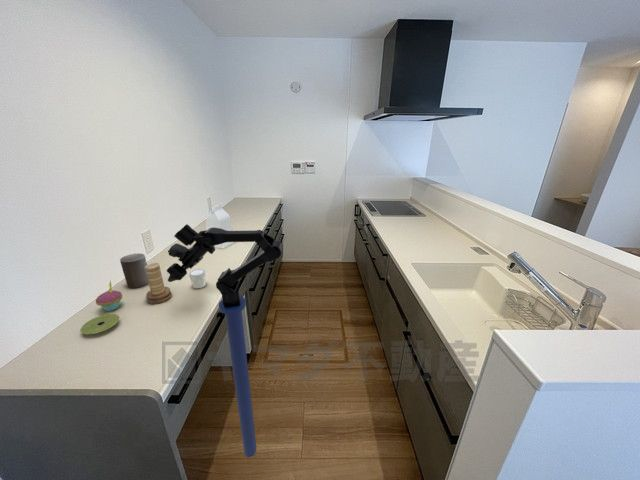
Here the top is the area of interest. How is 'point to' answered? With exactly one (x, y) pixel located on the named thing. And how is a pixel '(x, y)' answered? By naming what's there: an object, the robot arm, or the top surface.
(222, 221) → the milk
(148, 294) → the chip pile
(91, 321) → the green disc
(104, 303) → the cupcake
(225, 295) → the robot arm
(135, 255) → the pillar candle
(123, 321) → the top surface
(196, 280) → the white short cylinder
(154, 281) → the chip column
